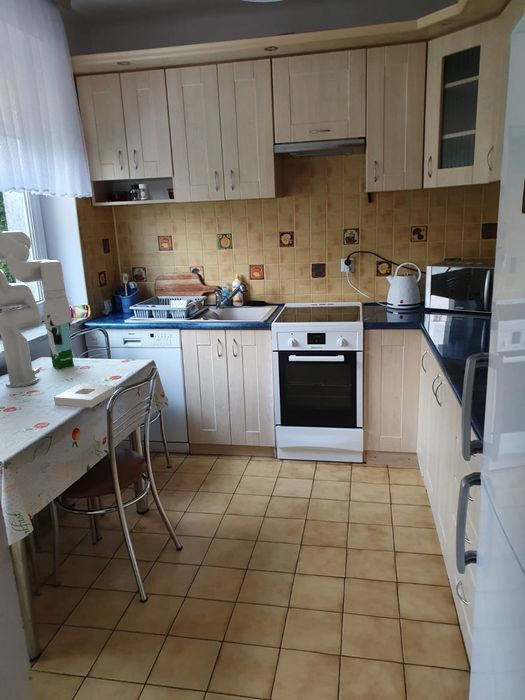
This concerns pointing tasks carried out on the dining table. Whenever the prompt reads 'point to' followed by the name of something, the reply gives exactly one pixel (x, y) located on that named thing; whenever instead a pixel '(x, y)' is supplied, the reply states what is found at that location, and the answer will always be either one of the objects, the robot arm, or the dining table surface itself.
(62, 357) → the milk carton
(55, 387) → the dining table surface
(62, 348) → the plug
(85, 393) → the white square-hole board
